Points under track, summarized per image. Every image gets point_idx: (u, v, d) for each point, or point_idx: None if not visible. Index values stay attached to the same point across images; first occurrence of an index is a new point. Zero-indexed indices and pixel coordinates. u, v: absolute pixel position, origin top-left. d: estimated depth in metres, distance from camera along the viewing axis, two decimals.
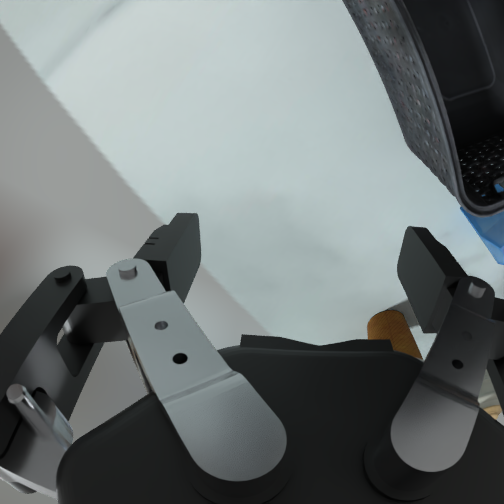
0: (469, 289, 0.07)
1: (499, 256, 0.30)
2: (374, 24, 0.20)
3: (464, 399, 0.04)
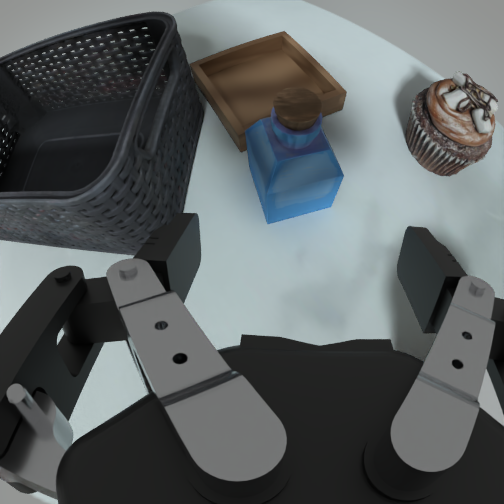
0: (469, 289, 0.07)
1: (313, 168, 0.23)
2: (11, 226, 0.25)
3: (464, 399, 0.04)
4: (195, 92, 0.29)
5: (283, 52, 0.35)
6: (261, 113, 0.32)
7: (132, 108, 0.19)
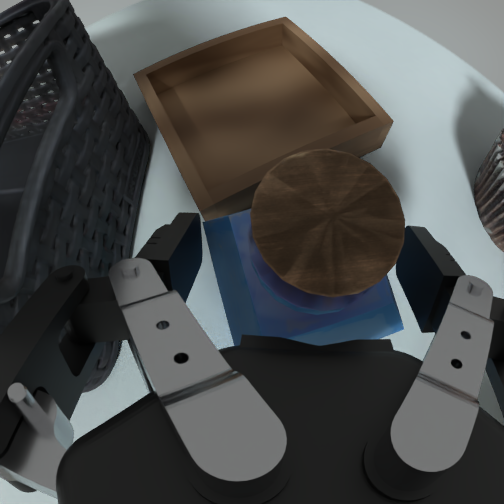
0: (467, 288, 0.07)
1: (348, 336, 0.10)
2: None
3: (464, 399, 0.04)
4: (127, 118, 0.17)
5: (284, 49, 0.22)
6: (246, 156, 0.20)
7: None
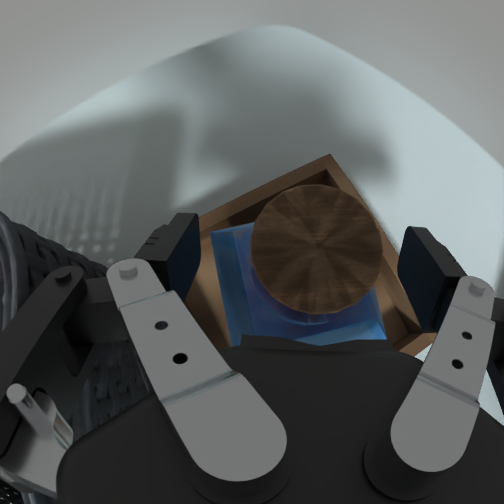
0: (469, 289, 0.07)
1: None
2: None
3: (464, 399, 0.04)
4: None
5: None
6: None
7: None
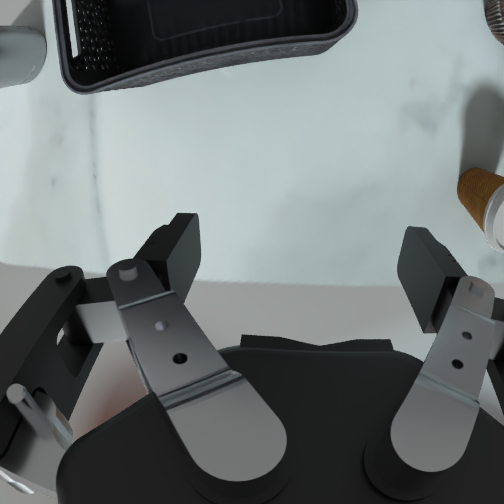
0: (469, 289, 0.07)
1: None
2: (195, 66, 0.30)
3: (464, 399, 0.04)
4: None
5: None
6: None
7: None
